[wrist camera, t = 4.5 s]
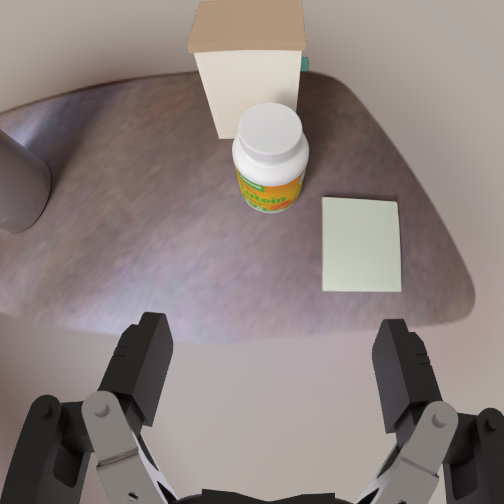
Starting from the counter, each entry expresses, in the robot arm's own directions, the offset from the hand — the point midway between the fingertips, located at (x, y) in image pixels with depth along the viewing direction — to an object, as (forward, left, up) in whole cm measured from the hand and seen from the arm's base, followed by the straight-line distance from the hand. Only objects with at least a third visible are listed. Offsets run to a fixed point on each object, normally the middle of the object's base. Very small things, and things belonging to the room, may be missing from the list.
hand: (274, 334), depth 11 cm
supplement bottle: (0, +12, -15) cm, 19 cm away
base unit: (-2, +19, -15) cm, 24 cm away
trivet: (+7, +7, -15) cm, 18 cm away
